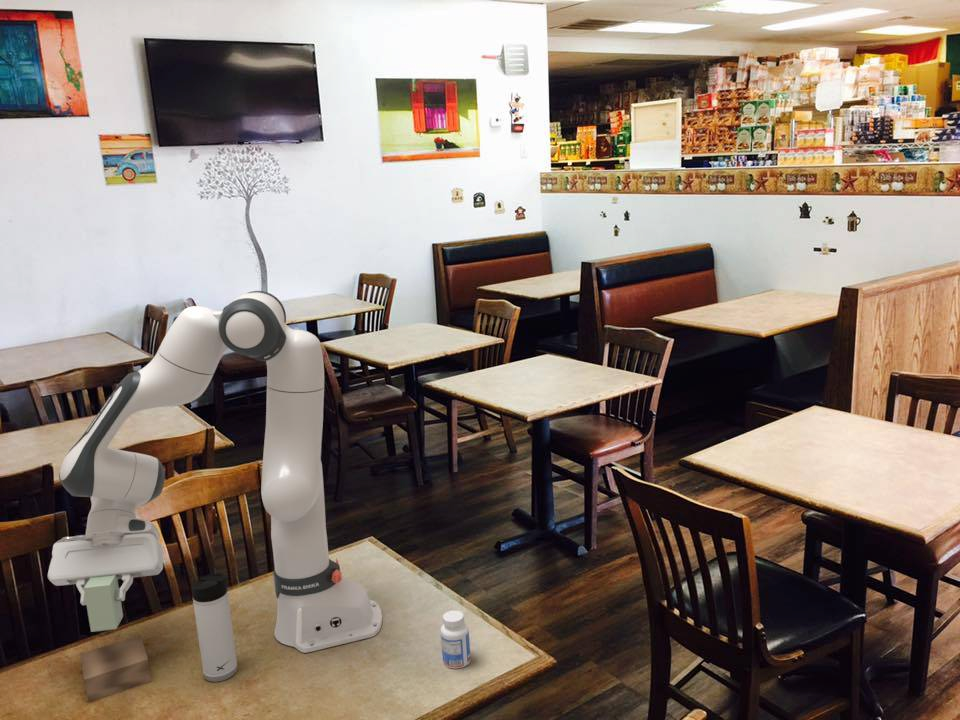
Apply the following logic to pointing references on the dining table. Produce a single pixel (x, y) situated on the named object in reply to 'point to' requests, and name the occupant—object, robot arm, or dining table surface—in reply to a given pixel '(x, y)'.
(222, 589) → the travel mug
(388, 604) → the dining table surface
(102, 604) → the sage block
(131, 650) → the walnut block
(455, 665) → the pill bottle
